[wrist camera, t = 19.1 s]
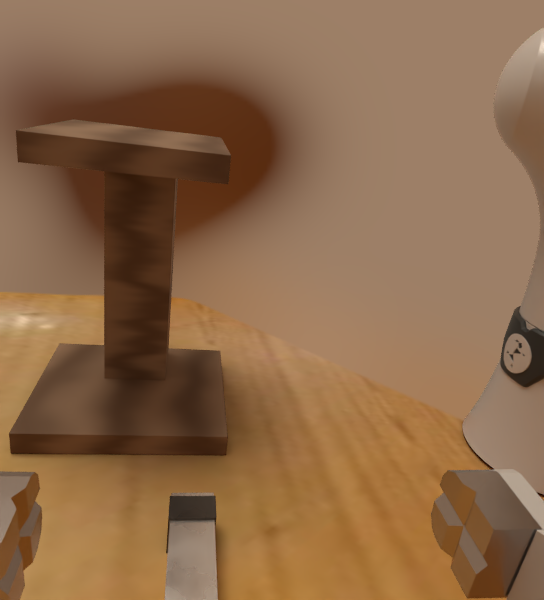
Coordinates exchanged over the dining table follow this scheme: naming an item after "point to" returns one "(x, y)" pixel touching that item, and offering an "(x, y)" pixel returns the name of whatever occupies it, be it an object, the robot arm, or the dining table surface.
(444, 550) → the robot arm
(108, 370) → the mount stand
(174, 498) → the grey square bar
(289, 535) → the dining table surface
